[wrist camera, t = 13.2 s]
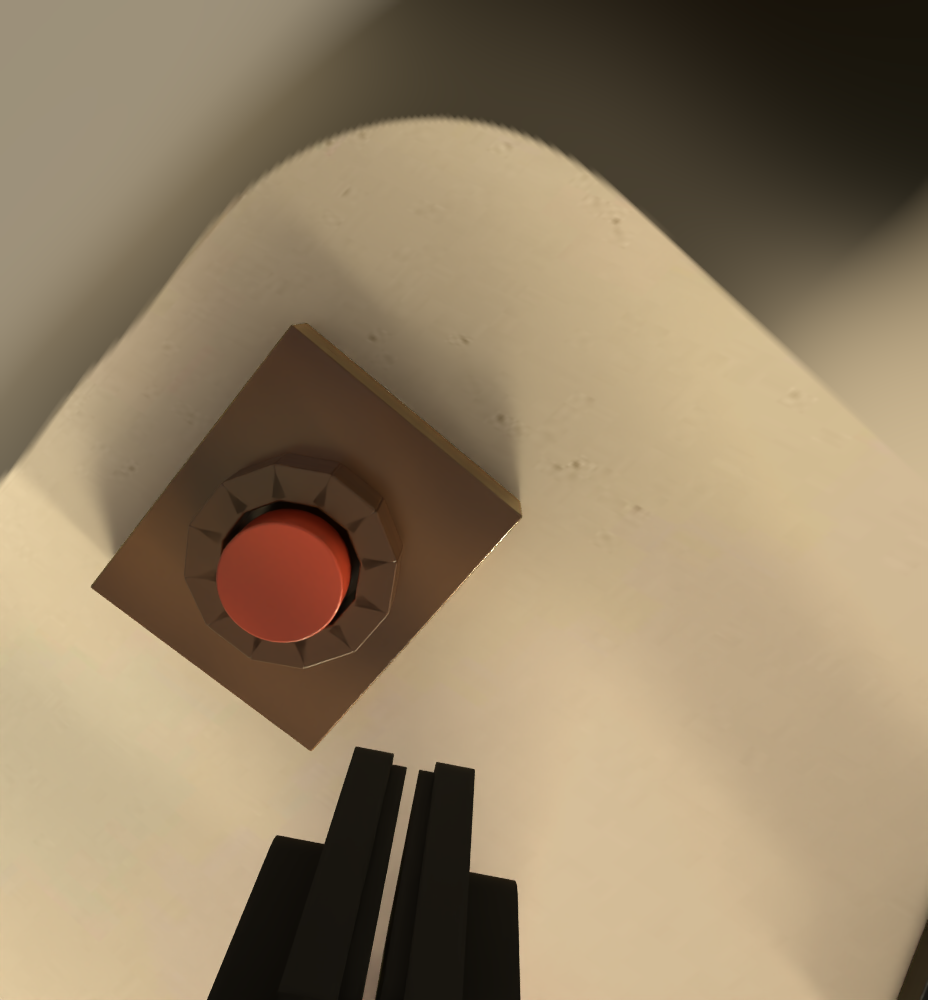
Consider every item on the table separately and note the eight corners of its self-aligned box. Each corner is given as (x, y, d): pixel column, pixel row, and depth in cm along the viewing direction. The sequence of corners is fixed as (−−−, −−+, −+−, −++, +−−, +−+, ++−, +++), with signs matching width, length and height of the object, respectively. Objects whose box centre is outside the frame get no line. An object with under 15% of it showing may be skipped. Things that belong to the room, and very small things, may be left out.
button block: (306, 322, 28) (277, 326, 24) (520, 501, 30) (525, 531, 26) (116, 567, 31) (63, 606, 27) (322, 722, 32) (300, 781, 28)
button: (280, 483, 26) (265, 496, 24) (376, 559, 27) (368, 577, 25) (209, 571, 27) (189, 590, 25) (303, 644, 27) (291, 667, 26)
